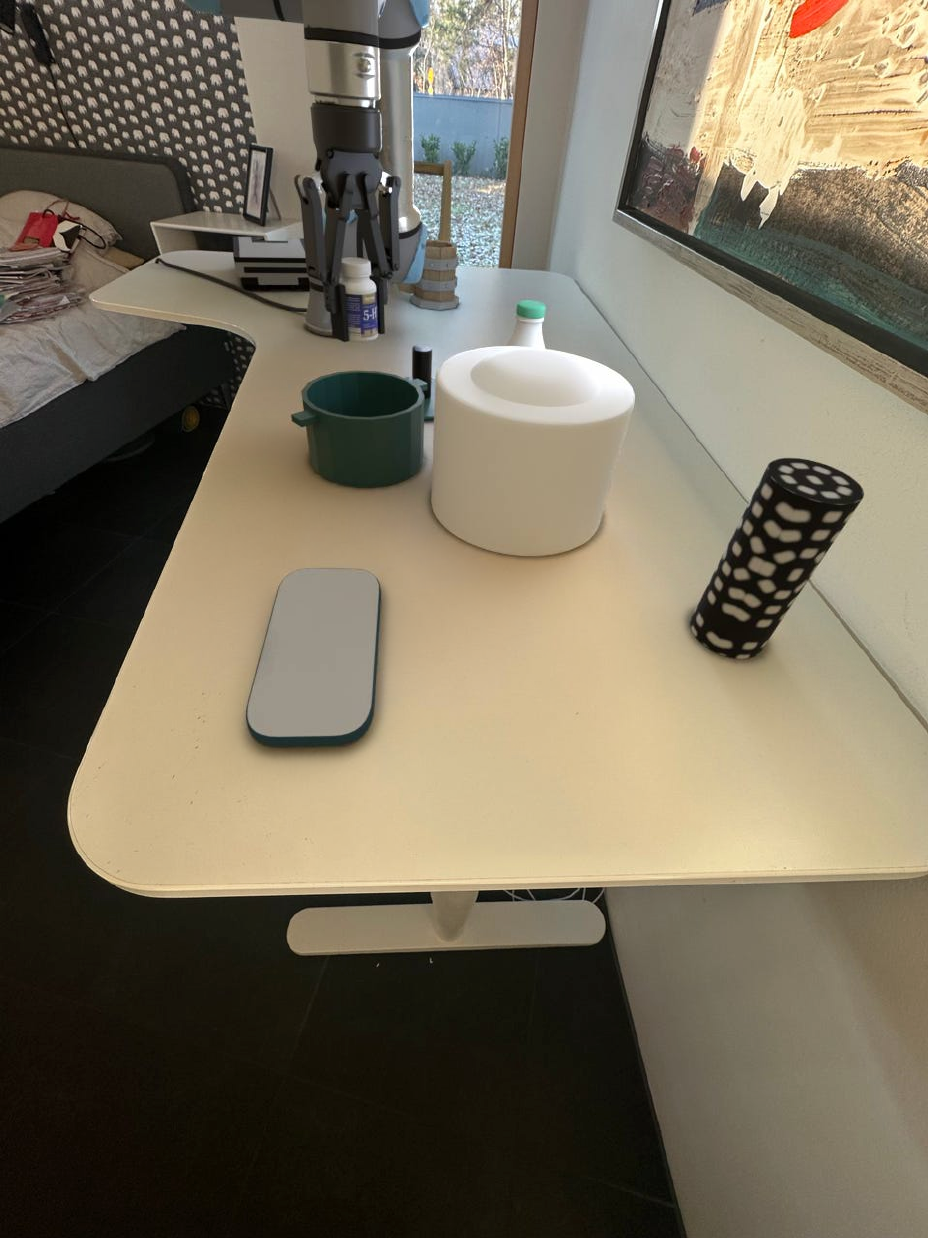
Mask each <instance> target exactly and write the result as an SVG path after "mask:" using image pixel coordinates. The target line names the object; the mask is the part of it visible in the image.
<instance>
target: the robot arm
mask: <svg viewBox="0 0 928 1238" xmlns="http://www.w3.org/2000/svg"><path fill="white" fill-rule="evenodd" d="M183 1H184V3H186V5H187V6H188V7H189V8H190V9H191V10H193V11H194V12H198V13H203V14H209V15H213V16H214V17H217V18H218V17H219V18H220V17H221V16H222V17H233V18H242V19H243V18H244V19H257V20H268V21H269V20H270V21H280V22H284V23H293V24H302V25H303V38H304V52H305V65H306V77H307V88H308V89H307V90H308V92H309V93H310V95H313V96H314V102H312V103H311V105H310V106H309V108H310V118H311V129H312V141H313V144H314V147H315V150H316V159H315V163H314V170H312V171H311V172H308V173H307V174H305V175H301V174H296V175H295V176H294V177H293V183H294V184H293V185H294V187H295V190H296V193H297V194H298V197H299V202H300V210H301V223H302V233H303V238H304V245H305V257H306V268H307V274H308V276H309V283H310V290H309V296H308V301H307V307H295V306H291V305H287V304H283V303H279V302H277V301H274V300H270V299H268V298H265V297H263V296H261V295H259V294H257V293H255V292H252V291H251V290H246V289H243V287H241V286H238V285H236V284H234V283H231V282H229V281H227V280H224V279H221V278H219V277H215V276H212V275H211V274H206V273H204V272H201V271H197V270H194V269H191V268H187V267H183V266H180V265H176V264H172V263H169V262H166V261H165V260H163V259H162V258H160V257H156V258H155V261H154V263H155V264H159V263H160V264H162V265H164V266H165V267H167V268H170V269H171V268H172V269H174V270H179V271H181V272H185V273H189V274H192V275H196V276H199V277H202V278H205V279H208V280H211V281H215V282H217V283H219V284H222V285H225V286H227V287H229V288H232V289H234V290H237V291H239V292H242V293H243V294H246V295H248V296H249V297H252V298H255V299H257V300H259V301H261V302H263V303H266V304H269V305H271V306H274V307H277V308H280V309H284V310H287V311H291V312H295V313H306V314H305V327H306V329H307V330H308V331H309V332H311V333H313V334H316V335H319V336H323V337H331V338H334V339H336V340H339V341H341V342H343V343H347V342H350V341H349V333H348V319H347V305H346V290H345V285H343V284H340V283H339V279H340V278H341V277H342V275H341V274H340V271H341V263H342V258H348V257H353V258H363V259H367V260H369V261H370V263H371V275H370V276H369V279H370V280H372V281H373V282H374V283H375V285H376V290H377V321H378V335H385V334H386V326H385V325H386V322H385V306H386V305H388V301H389V300H388V299H389V298H388V283H395V284H396V283H400V284H404V283H417V282H419V281H420V279H421V277H422V272H423V265H424V257H425V248H426V240H428V239H427V238H428V224H427V223H426V222H424V221H422V215H421V212H420V210H419V208H418V207H417V206H415V204H414V203H415V202H414V201H415V200H414V199H415V198H414V173H413V161H414V118H413V117H414V116H413V115H414V111H413V110H414V109H413V108H414V107H413V53H414V51H415V50H416V48H417V47H418V46H419V45H420V43H421V41H422V29H425V28H426V27H428V26H429V25H430V22H431V5H430V4H431V2H430V0H183ZM321 188H322V189H321ZM322 190H323V191H324V193H325V197H324V198H325V199H324V207H323V206H322V200H321V196H322V195H323V191H322Z"/></svg>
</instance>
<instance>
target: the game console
mask: <svg viewBox="0 0 928 1238" xmlns="http://www.w3.org/2000/svg"><path fill="white" fill-rule="evenodd" d="M232 243H233V251H232V257H233V258H232V259H233V262H234V268H235V274H236V277H237V279H240V281H241V285H242V288H243V289H246V290H248V291H267V287H266V286H291V288H292V291H310V283H309V276H308V274H307V268H306V257H305V245H304V237H303V238H302V237H300V238H299V237H286V240H265V239H264V240H262V239H261V240H260V239H252V236H232Z"/></svg>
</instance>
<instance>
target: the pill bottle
mask: <svg viewBox="0 0 928 1238" xmlns="http://www.w3.org/2000/svg"><path fill="white" fill-rule="evenodd" d="M340 274H341V275H342V277H341V278H340V279H339V283H340V284H343V285H345V290H346V305H347V319H348V333H349V341H348V342H354V343H355V342H356V343H366V342H367V343H368V342H371V341H374V340H376V339H377V338H378V336H379V334H378V321H377V290H376V285H375V283H374V282H373V281H372V280H370V279H369V276H370V275H371V263H370V261H369V260H367V259H363V258H353V257H348V258H342V263H341V271H340Z"/></svg>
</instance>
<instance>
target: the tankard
mask: <svg viewBox="0 0 928 1238" xmlns="http://www.w3.org/2000/svg"><path fill="white" fill-rule="evenodd" d="M457 248H458V245H457V244H455V243H453V242H451V241H450V242H447V241H439V240H438V239H434V240H433V239H427V240H426V248H425V257H424V265H423V272H422V277H421V279H420V281H419V282H417V283H413V285H411V284H405V283H404V284H400V283H395V285H396V287H397V289H398V291H399V292H401V293H404V294H411V296H410V303H411V304H413V305H415V306H416V307H418V308H421V309H424V310H425V309H426V310H427V309H428V310H435V311H445V310H446V311H447V310H453V309H454V310H455V309H456V307H457V306H458V305H459V303H460V297H459V296H458V295H455V294H456V293H455V291H456V288H457V287H458V276H456V273H457V272H456V270H457V267H458V266H459V258H460V257H459V255H458V254H457V251H458V249H457Z"/></svg>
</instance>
